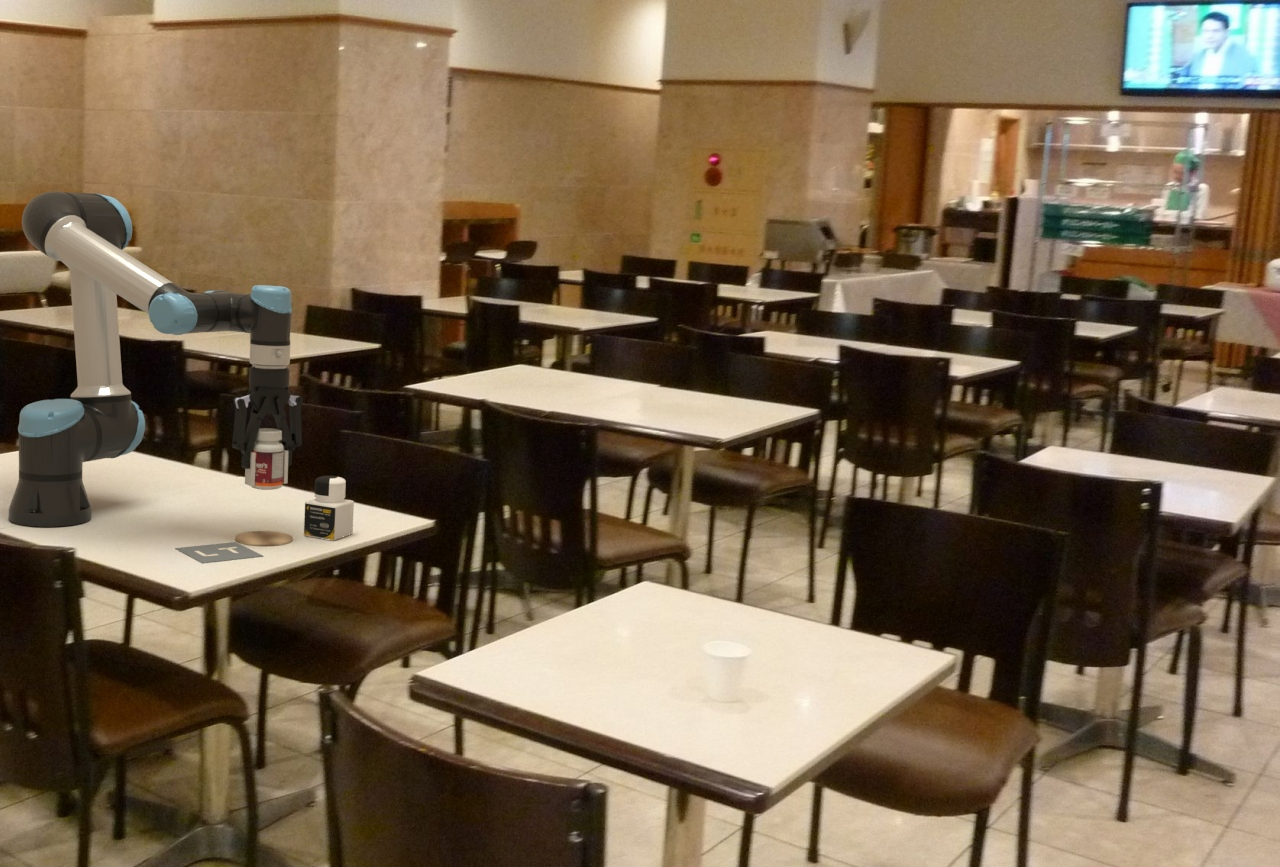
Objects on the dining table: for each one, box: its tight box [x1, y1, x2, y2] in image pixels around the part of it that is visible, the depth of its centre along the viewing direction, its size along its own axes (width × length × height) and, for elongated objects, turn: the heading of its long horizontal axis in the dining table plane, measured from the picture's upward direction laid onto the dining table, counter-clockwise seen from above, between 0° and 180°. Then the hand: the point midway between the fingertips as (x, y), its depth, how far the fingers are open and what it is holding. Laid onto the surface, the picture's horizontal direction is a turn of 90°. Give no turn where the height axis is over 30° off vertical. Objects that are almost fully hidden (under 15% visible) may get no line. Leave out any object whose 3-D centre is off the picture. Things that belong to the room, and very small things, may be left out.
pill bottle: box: [250, 427, 284, 491], centre depth 268 cm, size 6×6×11 cm
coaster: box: [234, 530, 294, 547], centre depth 270 cm, size 11×11×1 cm
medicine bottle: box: [303, 475, 355, 541], centre depth 276 cm, size 7×7×12 cm
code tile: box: [174, 541, 264, 564], centre depth 258 cm, size 12×12×1 cm
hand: (266, 483), depth 269 cm, fingers closed on pill bottle, 6 cm apart
